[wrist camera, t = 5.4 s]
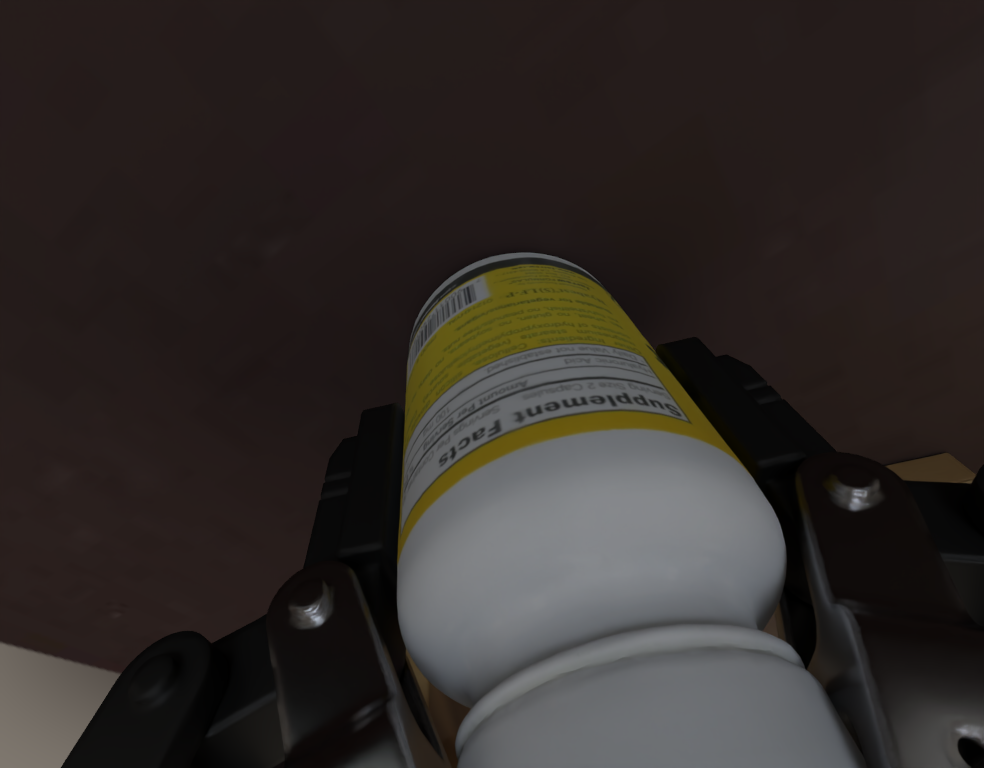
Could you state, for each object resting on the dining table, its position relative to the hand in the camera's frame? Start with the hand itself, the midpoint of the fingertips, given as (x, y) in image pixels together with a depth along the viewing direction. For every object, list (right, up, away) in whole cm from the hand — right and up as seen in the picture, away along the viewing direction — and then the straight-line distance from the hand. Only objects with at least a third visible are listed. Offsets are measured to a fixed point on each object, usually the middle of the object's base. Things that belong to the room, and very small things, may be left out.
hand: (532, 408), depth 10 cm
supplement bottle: (0, +2, +2) cm, 3 cm away
